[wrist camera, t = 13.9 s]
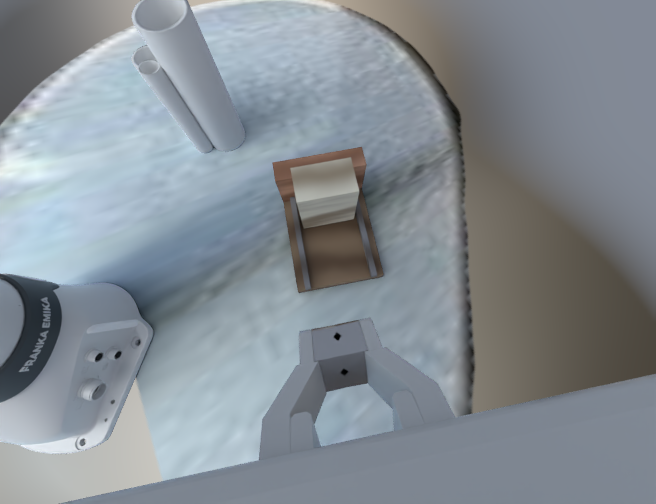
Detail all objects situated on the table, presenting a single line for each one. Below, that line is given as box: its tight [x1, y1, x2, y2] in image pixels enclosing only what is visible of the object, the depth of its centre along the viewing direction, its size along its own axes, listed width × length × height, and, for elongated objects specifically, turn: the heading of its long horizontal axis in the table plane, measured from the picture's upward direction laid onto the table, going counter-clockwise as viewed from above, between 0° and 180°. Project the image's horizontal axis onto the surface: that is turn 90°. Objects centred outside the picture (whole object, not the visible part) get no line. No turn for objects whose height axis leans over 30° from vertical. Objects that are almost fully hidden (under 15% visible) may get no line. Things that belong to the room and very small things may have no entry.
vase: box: [131, 0, 245, 153], centre depth 39 cm, size 11×7×20 cm, turn 87°
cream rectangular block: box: [290, 157, 359, 228], centre depth 38 cm, size 5×8×9 cm, turn 101°
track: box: [273, 147, 384, 293], centre depth 40 cm, size 18×13×8 cm
